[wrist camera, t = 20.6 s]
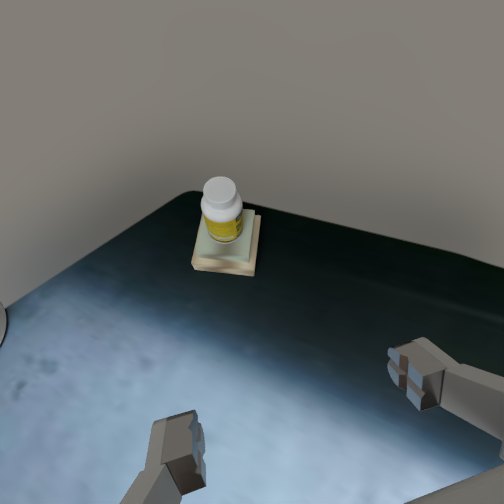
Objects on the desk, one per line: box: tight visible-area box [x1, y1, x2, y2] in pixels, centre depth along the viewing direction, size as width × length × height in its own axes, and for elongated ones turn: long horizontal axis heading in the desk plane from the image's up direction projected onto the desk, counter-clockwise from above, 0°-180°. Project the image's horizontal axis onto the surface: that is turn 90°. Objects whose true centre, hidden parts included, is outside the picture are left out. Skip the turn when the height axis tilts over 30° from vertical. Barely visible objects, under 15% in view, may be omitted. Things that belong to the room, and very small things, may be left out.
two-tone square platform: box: [191, 209, 261, 276], centre depth 43 cm, size 10×10×6 cm
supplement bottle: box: [201, 176, 243, 244], centre depth 35 cm, size 5×5×10 cm
